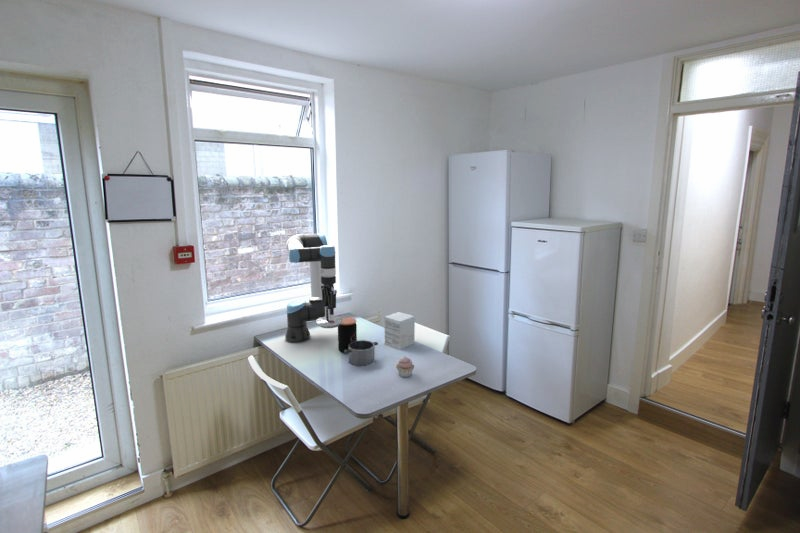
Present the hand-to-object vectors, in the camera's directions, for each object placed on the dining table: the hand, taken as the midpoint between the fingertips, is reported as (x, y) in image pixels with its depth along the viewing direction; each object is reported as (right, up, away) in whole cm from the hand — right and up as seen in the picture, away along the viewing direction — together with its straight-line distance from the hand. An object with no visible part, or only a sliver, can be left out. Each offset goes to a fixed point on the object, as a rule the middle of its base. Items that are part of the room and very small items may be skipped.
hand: (329, 319), depth 210 cm
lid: (0, -3, +1) cm, 3 cm away
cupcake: (+40, -27, -8) cm, 49 cm away
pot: (+16, -24, +7) cm, 30 cm away
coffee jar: (+7, -21, +21) cm, 31 cm away
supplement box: (+37, -19, +31) cm, 52 cm away
